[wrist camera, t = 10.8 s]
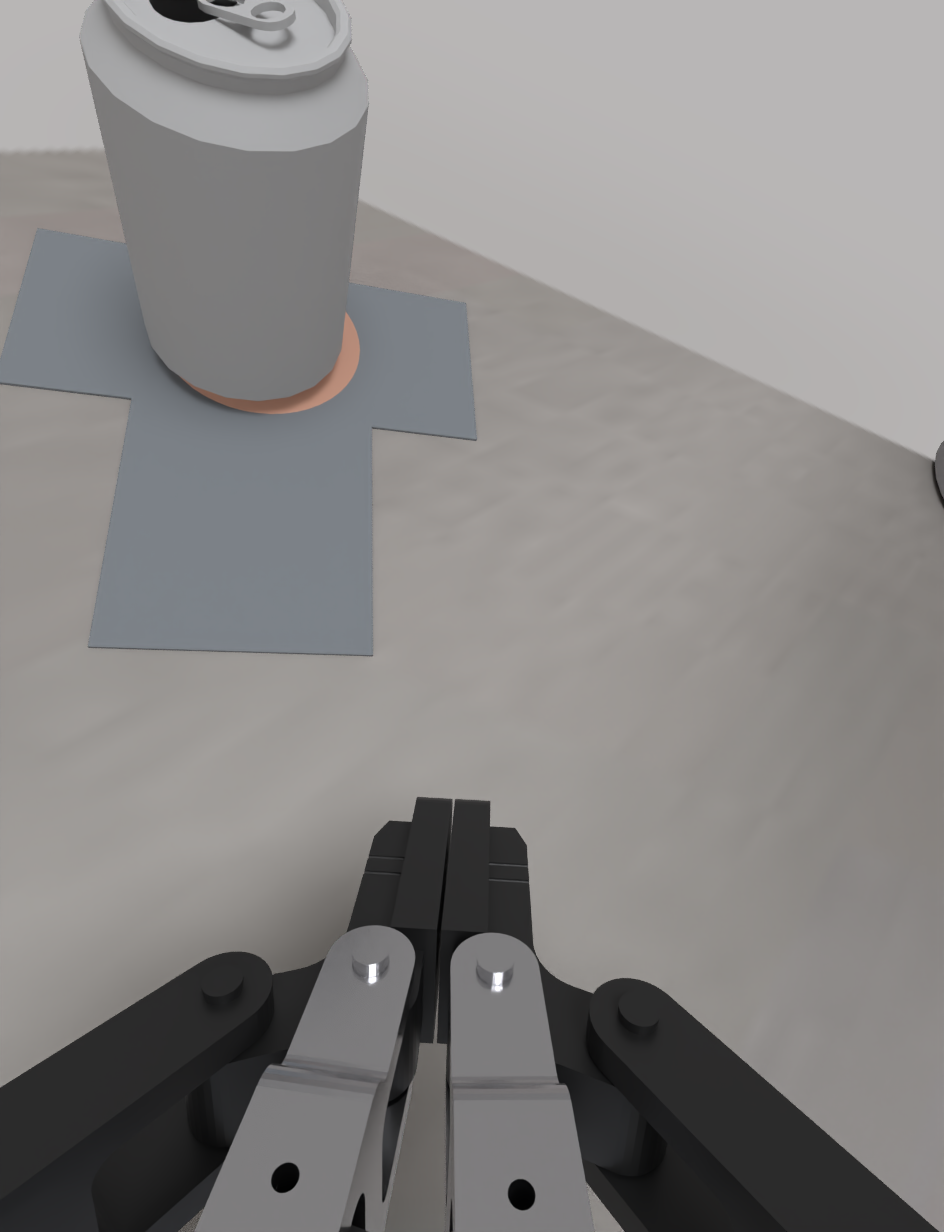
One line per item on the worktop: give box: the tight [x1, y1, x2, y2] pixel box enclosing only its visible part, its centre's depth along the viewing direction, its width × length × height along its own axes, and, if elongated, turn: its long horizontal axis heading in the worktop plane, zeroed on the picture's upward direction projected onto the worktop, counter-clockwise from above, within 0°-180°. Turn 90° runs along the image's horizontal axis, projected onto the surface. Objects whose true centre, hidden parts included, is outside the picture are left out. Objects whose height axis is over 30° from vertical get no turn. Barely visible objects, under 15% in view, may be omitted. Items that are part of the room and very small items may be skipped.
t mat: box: [0, 228, 477, 656], centre depth 26 cm, size 18×18×1 cm
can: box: [79, 0, 369, 401], centre depth 22 cm, size 8×8×12 cm
